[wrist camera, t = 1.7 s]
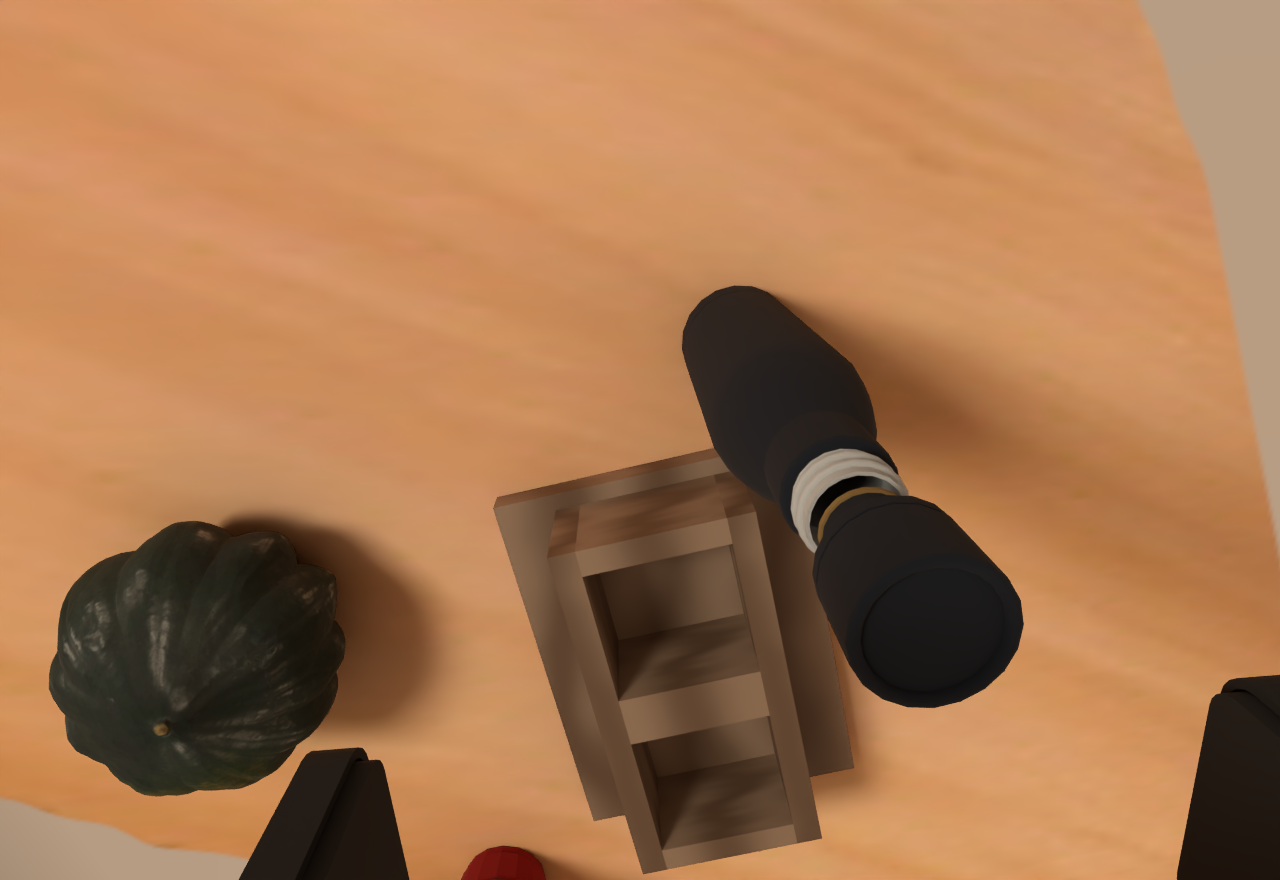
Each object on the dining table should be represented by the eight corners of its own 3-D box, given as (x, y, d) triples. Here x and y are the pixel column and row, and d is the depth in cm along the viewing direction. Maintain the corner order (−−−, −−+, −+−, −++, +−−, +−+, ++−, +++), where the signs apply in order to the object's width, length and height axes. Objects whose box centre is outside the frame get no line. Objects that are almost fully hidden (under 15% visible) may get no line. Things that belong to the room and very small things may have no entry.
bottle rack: (789, 431, 47) (820, 478, 40) (847, 751, 55) (881, 839, 48) (497, 497, 48) (475, 555, 41) (594, 803, 56) (591, 897, 49)
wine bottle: (791, 278, 44) (1098, 481, 16) (796, 389, 46) (1075, 742, 18) (676, 292, 44) (779, 517, 16) (686, 401, 46) (793, 772, 18)
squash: (56, 756, 47) (113, 921, 37) (4, 521, 43) (53, 632, 32) (299, 668, 56) (400, 778, 46) (277, 467, 52) (383, 540, 42)
